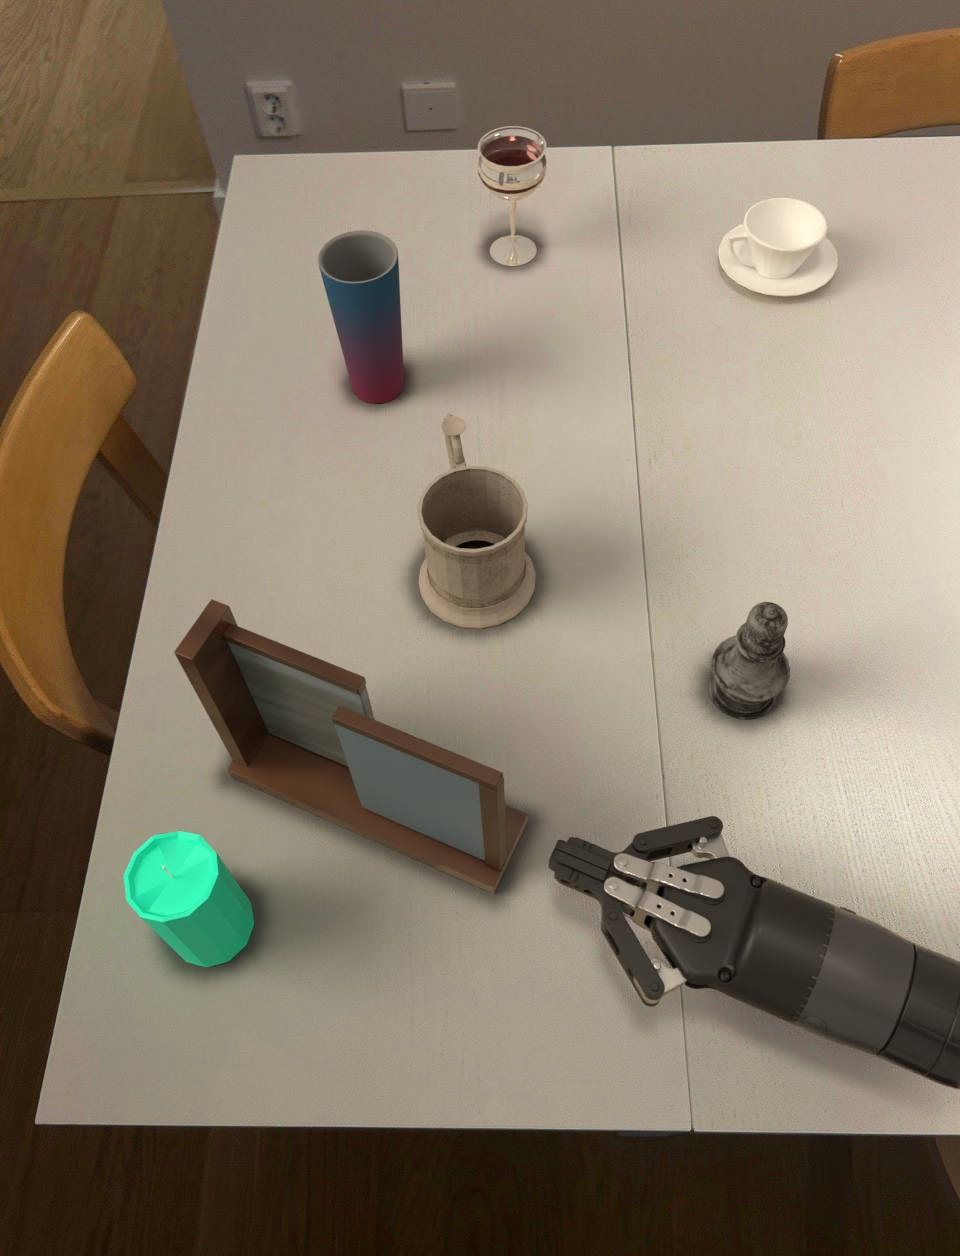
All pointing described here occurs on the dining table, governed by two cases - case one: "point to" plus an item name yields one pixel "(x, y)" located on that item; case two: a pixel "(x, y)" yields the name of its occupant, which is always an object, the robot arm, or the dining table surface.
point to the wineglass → (512, 182)
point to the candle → (189, 898)
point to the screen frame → (303, 735)
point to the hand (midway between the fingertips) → (553, 853)
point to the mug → (466, 511)
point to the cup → (366, 311)
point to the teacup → (780, 249)
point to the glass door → (425, 786)
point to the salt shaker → (751, 664)
